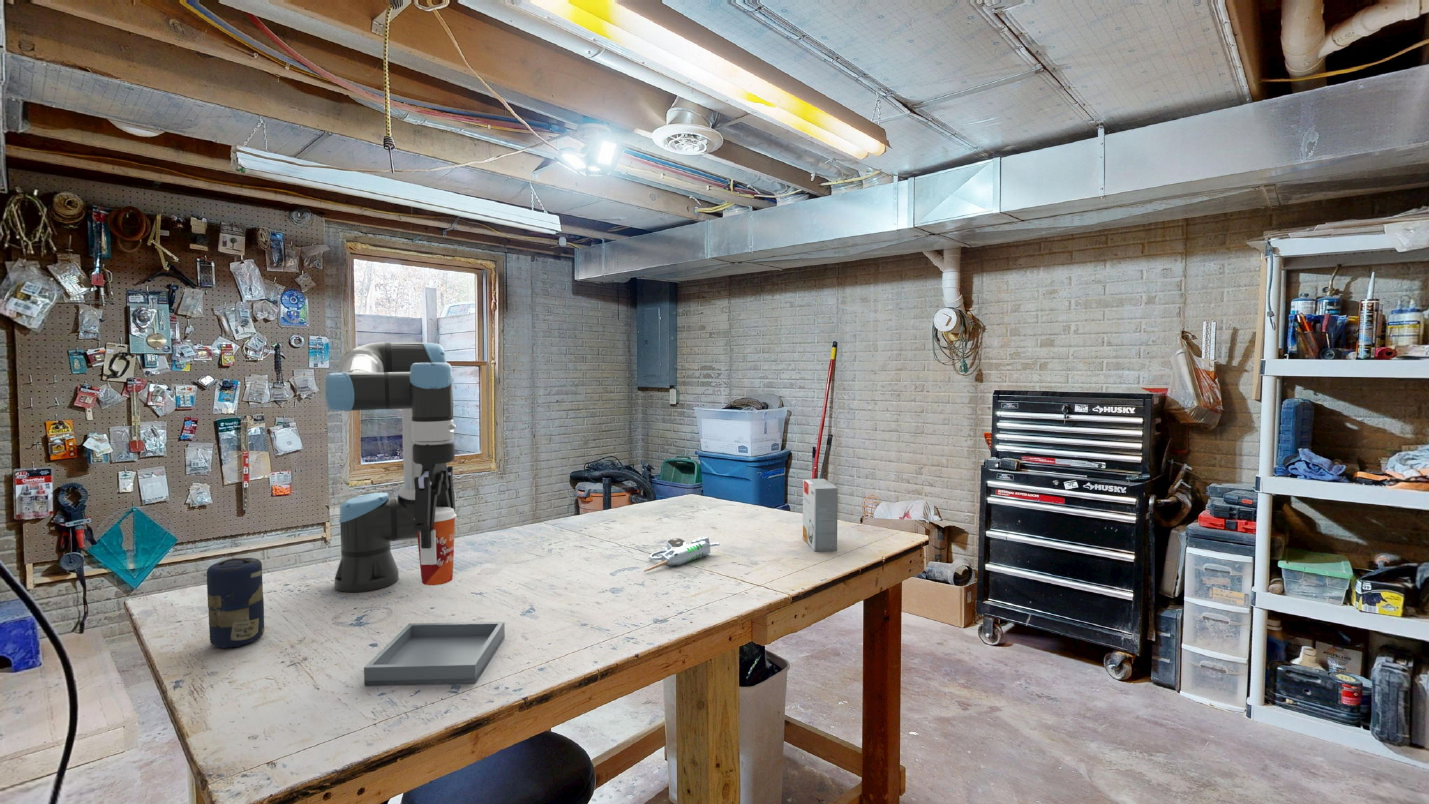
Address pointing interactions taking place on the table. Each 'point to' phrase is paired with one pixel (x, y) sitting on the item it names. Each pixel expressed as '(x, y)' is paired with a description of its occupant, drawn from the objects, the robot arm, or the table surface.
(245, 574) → the canister
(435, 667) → the tray
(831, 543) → the hard drive box
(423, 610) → the table surface
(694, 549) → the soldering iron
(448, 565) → the paper cup
